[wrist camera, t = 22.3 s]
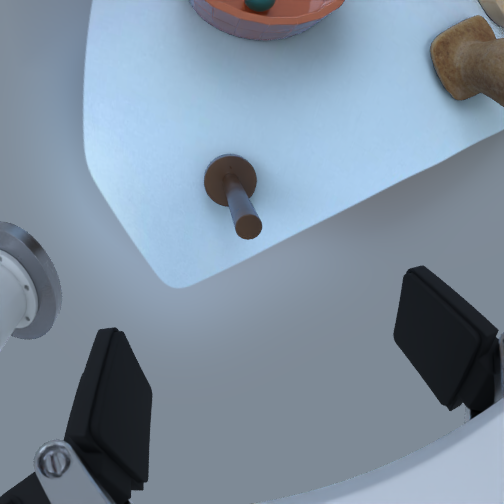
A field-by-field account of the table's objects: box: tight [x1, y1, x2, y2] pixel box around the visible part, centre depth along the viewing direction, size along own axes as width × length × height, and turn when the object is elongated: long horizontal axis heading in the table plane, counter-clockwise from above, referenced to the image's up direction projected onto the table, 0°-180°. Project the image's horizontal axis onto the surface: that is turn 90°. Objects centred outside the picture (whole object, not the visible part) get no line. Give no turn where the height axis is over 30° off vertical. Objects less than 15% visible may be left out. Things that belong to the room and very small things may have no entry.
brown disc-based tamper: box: [204, 154, 262, 240], centre depth 25 cm, size 5×5×15 cm
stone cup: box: [430, 15, 504, 107], centre depth 21 cm, size 15×12×15 cm
